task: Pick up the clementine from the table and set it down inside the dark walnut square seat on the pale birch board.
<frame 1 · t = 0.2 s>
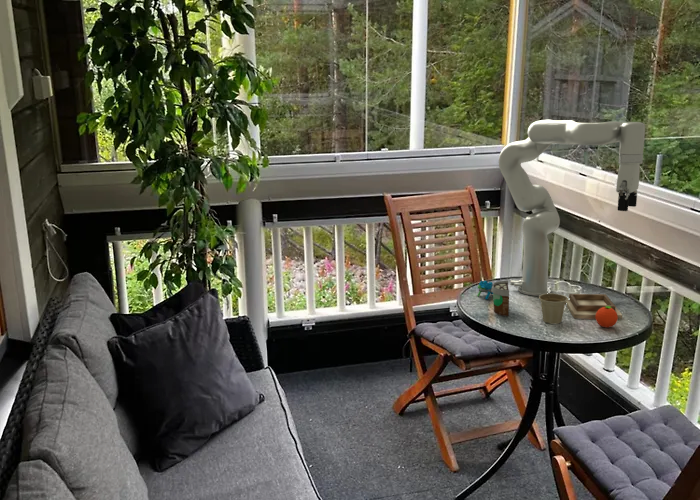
hand: (626, 208, 216), 37 cm above the table, tool pointing down, fingers open, 9 cm apart
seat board: (591, 308, 226), on the table
toy dinosaur: (489, 297, 242), on the table
clementine: (606, 326, 209), on the table
flower pot: (551, 321, 216), on the table
food container: (499, 311, 226), on the table
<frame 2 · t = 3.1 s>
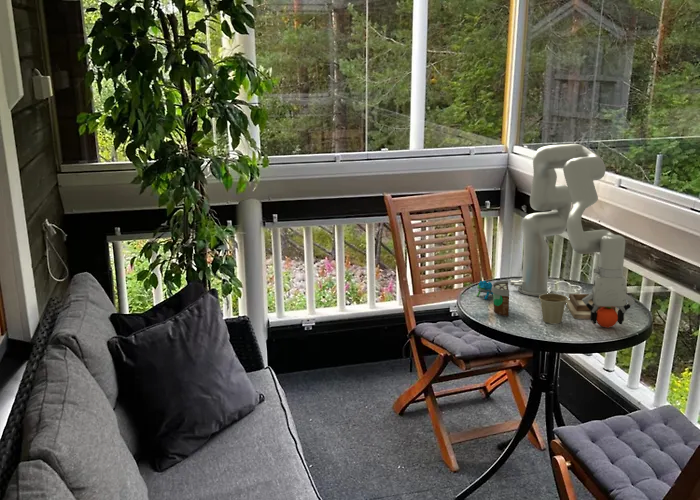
hand: (606, 322, 209), 1 cm above the table, tool pointing down, fingers open, 7 cm apart
clementine: (606, 326, 209), on the table, touching gripper
everything else where it was.
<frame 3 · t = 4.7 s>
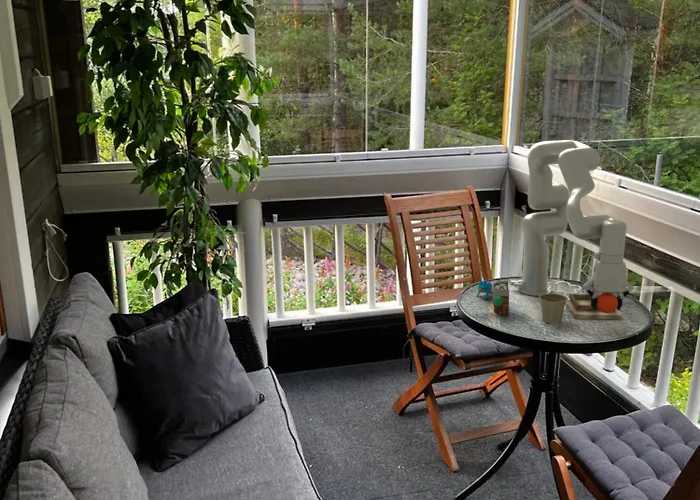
hand: (605, 308, 209), 6 cm above the table, tool pointing down, fingers closed on clementine, 7 cm apart
clementine: (606, 312, 209), point 5 cm above the table, touching gripper
everything else where it was.
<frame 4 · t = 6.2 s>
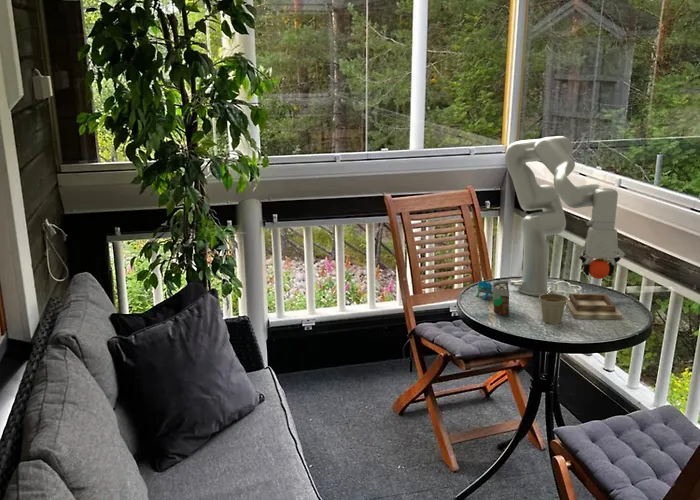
hand: (597, 274, 216), 15 cm above the table, tool pointing down, fingers closed on clementine, 7 cm apart
clementine: (598, 278, 217), point 13 cm above the table, touching gripper
everything else where it was.
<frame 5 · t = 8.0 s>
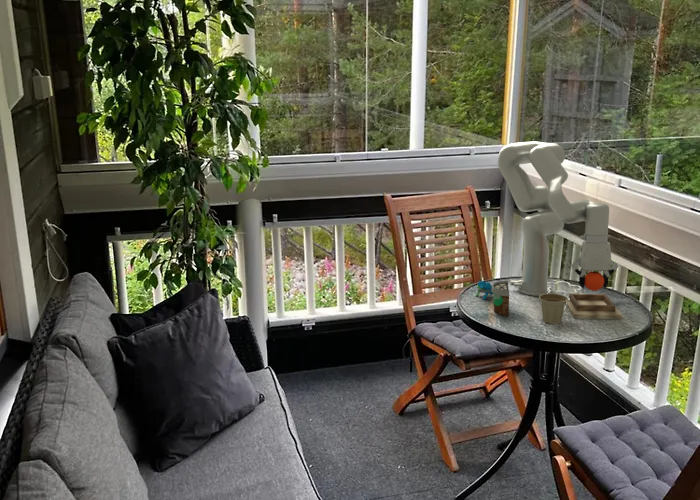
hand: (593, 286, 223), 9 cm above the table, tool pointing down, fingers closed on clementine, 7 cm apart
clementine: (593, 290, 224), point 7 cm above the table, touching gripper
everything else where it was.
when the fingers open (5 cm above the table, at t = 9.3 s): clementine drops 2 cm, resting on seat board.
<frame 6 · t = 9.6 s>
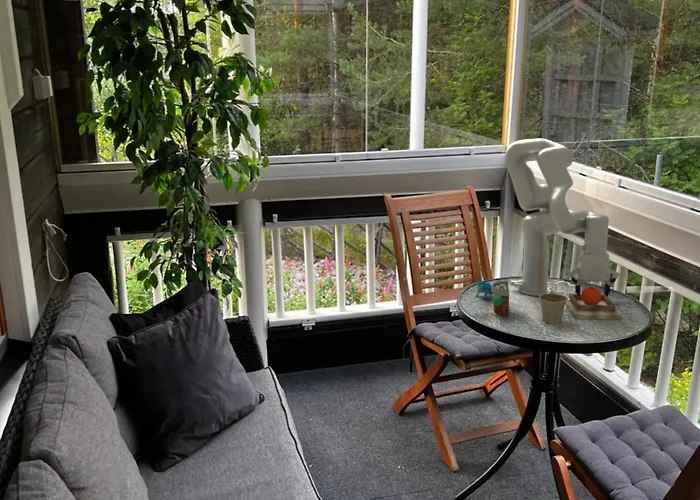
hand: (592, 295, 224), 5 cm above the table, tool pointing down, fingers open, 9 cm apart
clementine: (590, 305, 226), point 1 cm above the table, touching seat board
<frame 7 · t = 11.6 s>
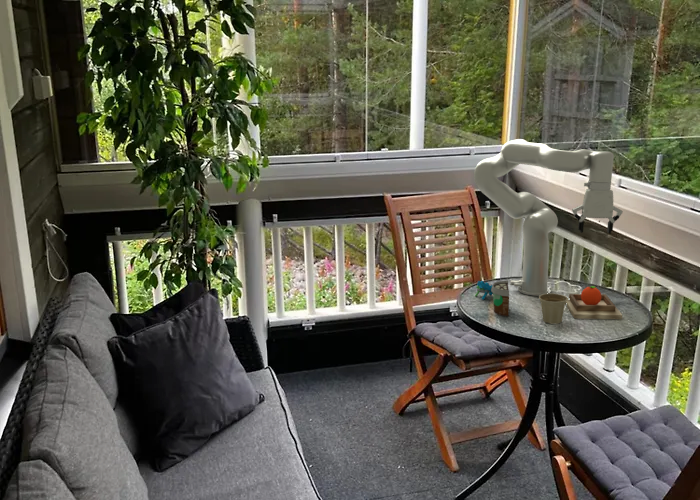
hand: (595, 232, 228), 26 cm above the table, tool pointing down, fingers open, 9 cm apart
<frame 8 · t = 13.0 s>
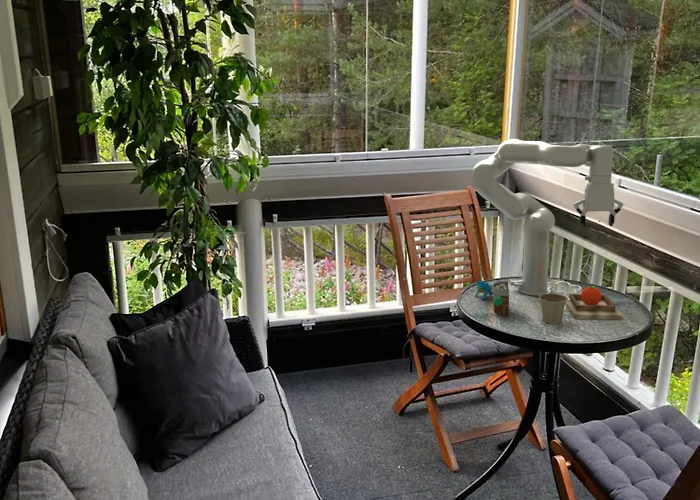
hand: (596, 225, 230), 28 cm above the table, tool pointing down, fingers open, 9 cm apart
at the end: clementine inside the target area on the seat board (0.2 cm from its centre), point 1.3 cm above the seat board's base; the gripper is holding nothing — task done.
